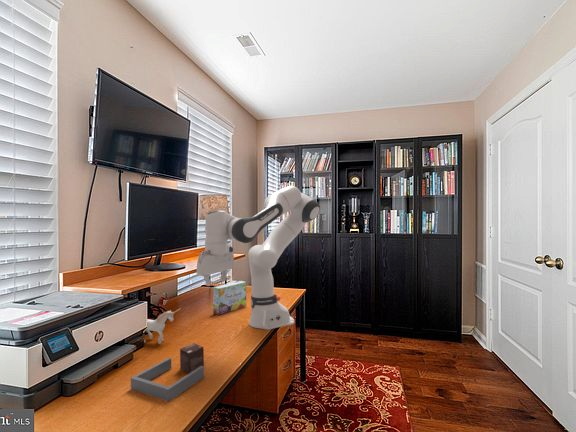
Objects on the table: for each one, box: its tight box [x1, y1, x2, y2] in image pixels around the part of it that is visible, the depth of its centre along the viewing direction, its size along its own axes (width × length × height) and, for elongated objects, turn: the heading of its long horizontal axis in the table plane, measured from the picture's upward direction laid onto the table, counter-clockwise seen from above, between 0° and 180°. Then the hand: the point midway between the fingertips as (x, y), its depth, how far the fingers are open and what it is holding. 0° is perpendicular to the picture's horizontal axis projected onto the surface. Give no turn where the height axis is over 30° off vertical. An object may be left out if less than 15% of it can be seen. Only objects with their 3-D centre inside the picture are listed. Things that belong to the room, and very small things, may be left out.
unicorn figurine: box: [143, 307, 182, 345], centre depth 135 cm, size 7×20×13 cm, turn 93°
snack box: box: [212, 280, 247, 316], centre depth 179 cm, size 21×6×15 cm, turn 143°
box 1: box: [130, 357, 205, 403], centre depth 100 cm, size 15×16×4 cm
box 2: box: [179, 342, 205, 374], centre depth 110 cm, size 6×6×7 cm
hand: (216, 283), depth 126 cm, fingers open, 8 cm apart
